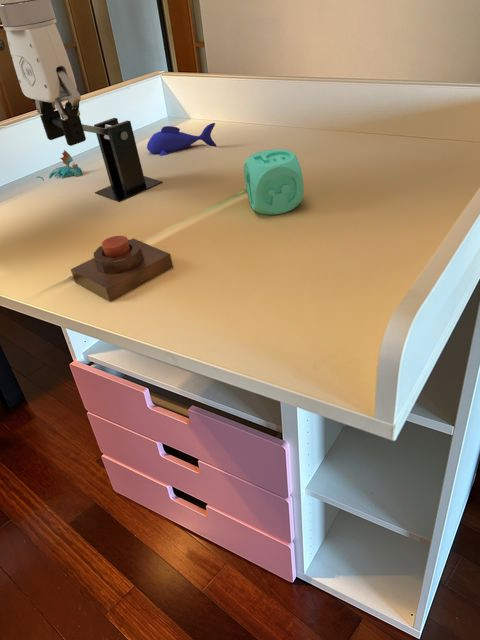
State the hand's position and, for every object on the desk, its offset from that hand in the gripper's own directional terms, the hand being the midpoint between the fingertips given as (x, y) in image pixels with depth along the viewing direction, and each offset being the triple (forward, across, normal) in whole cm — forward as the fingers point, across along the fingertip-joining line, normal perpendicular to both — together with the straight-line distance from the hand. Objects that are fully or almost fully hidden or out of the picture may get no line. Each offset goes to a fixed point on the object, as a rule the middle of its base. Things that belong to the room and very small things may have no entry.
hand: (66, 139), depth 93 cm
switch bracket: (+13, 0, +9) cm, 16 cm away
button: (+9, +25, -10) cm, 28 cm away
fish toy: (+13, -8, +29) cm, 33 cm away
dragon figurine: (+13, -19, +6) cm, 24 cm away
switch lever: (+1, 0, +4) cm, 4 cm away
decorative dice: (+13, +28, +19) cm, 36 cm away
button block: (+13, +25, -10) cm, 30 cm away
